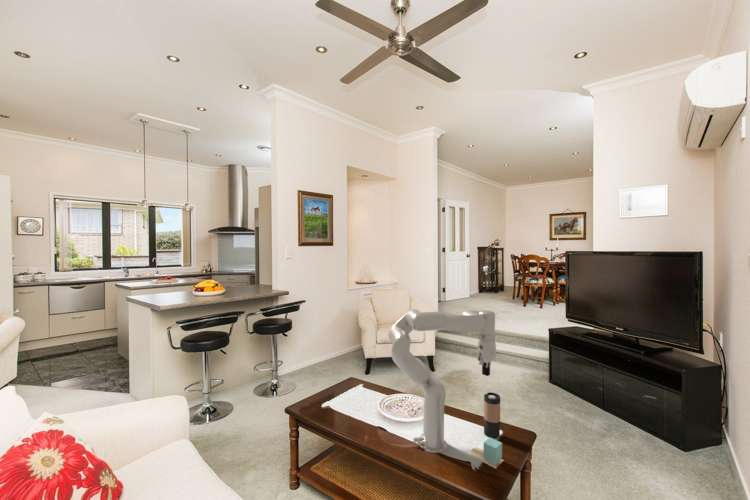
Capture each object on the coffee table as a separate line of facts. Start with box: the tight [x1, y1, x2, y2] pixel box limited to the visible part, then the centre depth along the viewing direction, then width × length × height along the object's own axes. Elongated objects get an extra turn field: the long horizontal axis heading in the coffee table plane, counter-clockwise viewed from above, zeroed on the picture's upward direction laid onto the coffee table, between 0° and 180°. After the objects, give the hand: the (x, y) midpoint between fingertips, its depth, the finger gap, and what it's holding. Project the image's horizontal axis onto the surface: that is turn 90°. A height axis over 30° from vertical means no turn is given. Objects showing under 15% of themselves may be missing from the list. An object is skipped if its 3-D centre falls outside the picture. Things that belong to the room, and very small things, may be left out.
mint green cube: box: [483, 437, 503, 463], centre depth 147 cm, size 6×6×6 cm
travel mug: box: [483, 392, 501, 439], centre depth 166 cm, size 8×8×20 cm
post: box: [485, 458, 502, 466], centre depth 147 cm, size 5×5×7 cm
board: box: [466, 445, 504, 469], centre depth 150 cm, size 8×14×1 cm, turn 43°
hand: (486, 374), depth 162 cm, fingers closed
